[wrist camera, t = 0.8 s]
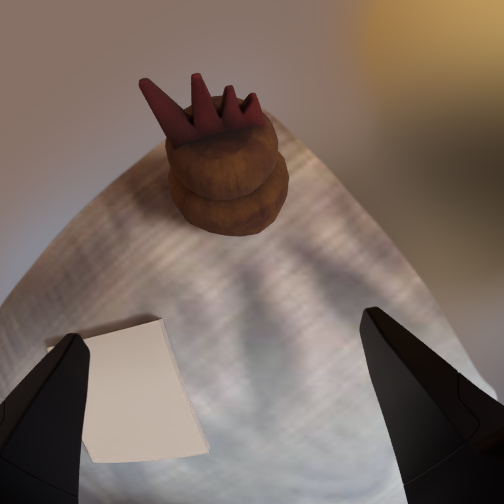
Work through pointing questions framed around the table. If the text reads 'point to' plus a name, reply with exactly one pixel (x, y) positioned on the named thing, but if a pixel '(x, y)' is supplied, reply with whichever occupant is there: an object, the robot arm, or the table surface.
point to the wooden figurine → (221, 159)
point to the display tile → (138, 399)
